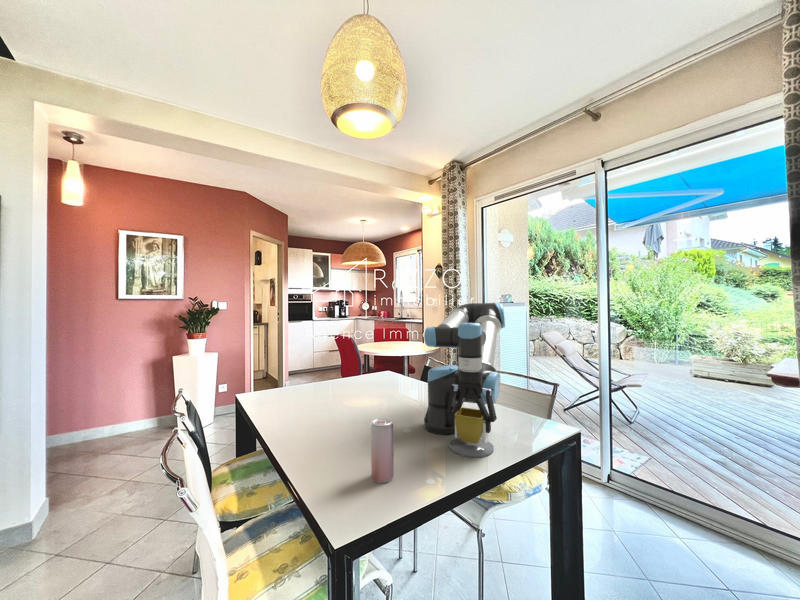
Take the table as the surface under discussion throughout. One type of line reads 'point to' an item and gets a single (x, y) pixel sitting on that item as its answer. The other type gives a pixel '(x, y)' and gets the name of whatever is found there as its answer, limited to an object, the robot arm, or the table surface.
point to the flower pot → (469, 424)
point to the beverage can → (382, 450)
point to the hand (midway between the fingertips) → (471, 439)
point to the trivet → (471, 448)
